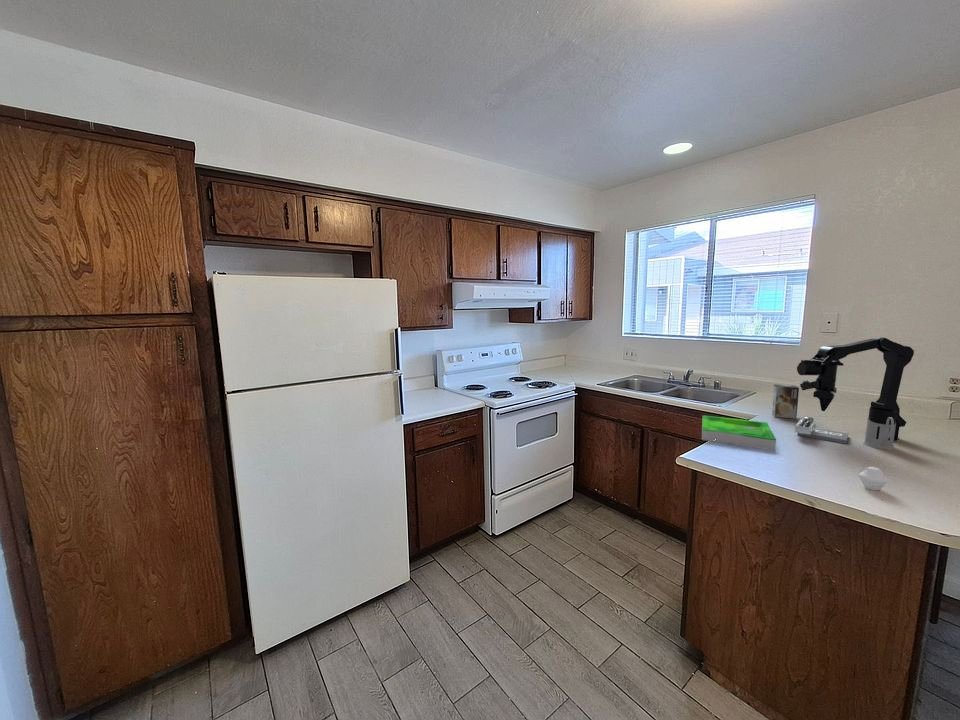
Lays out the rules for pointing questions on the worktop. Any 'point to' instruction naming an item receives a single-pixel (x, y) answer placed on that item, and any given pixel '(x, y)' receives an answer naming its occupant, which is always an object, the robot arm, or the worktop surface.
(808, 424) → the swing arm
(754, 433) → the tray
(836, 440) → the label board
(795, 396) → the coffee box
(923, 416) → the worktop surface
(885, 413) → the grey rounded piece
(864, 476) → the white faceted lump
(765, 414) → the worktop surface
